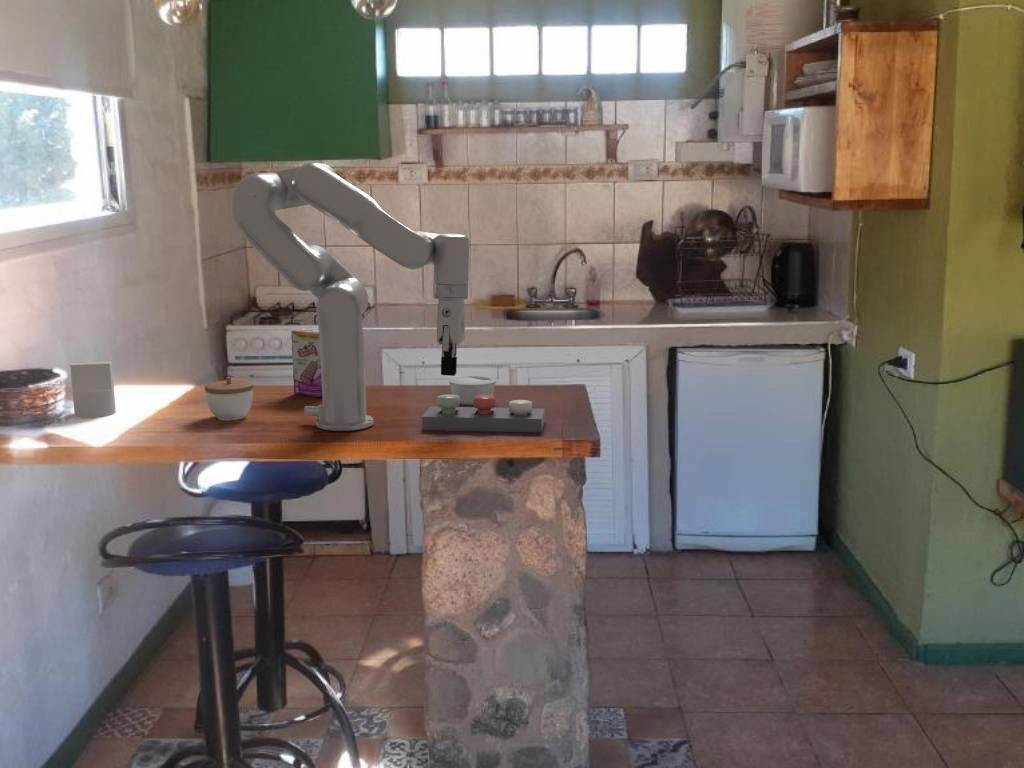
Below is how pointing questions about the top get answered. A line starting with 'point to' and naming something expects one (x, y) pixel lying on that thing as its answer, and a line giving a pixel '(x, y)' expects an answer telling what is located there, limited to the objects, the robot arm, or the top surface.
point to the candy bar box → (306, 362)
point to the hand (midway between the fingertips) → (448, 374)
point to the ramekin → (471, 387)
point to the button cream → (520, 407)
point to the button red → (484, 404)
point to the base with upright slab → (93, 389)
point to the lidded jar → (229, 398)
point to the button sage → (448, 403)
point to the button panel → (483, 420)
